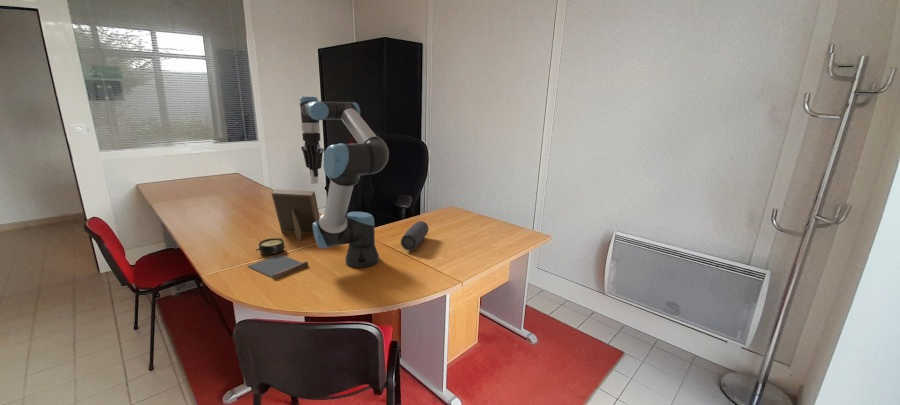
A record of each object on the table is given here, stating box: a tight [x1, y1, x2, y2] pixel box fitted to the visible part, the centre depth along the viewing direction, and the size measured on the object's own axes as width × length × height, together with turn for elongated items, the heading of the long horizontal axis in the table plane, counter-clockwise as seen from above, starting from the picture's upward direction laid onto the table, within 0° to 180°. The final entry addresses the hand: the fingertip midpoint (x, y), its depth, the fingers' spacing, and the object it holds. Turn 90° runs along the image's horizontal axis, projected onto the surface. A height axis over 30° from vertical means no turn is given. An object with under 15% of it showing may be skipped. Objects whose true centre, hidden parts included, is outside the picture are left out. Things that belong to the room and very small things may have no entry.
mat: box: [247, 254, 302, 279], centre depth 165 cm, size 20×16×1 cm
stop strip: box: [272, 260, 309, 280], centre depth 159 cm, size 2×16×2 cm, turn 147°
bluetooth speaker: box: [400, 220, 429, 251], centre depth 193 cm, size 23×9×10 cm, turn 168°
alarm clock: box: [255, 237, 285, 258], centre depth 181 cm, size 11×5×16 cm
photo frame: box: [271, 188, 321, 241], centre depth 199 cm, size 15×22×25 cm
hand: (314, 183), depth 173 cm, fingers closed
